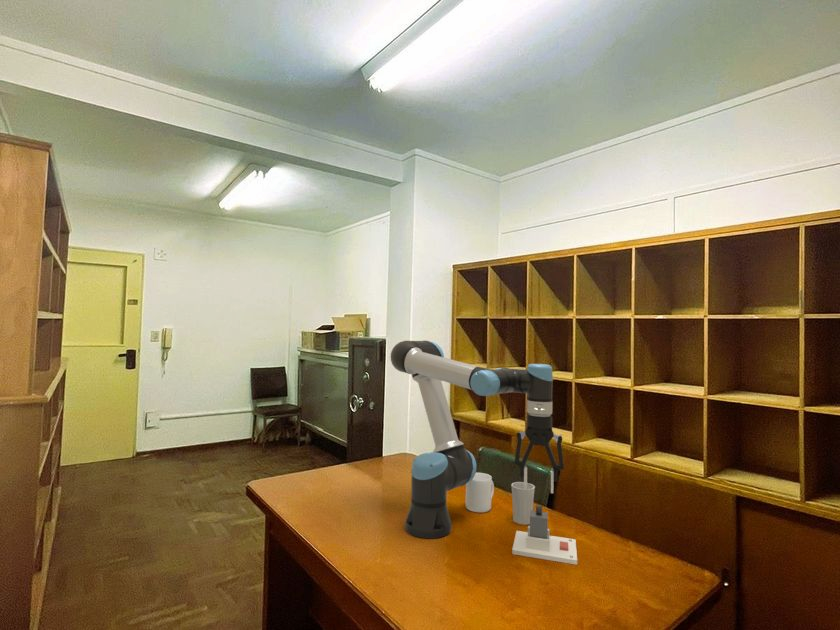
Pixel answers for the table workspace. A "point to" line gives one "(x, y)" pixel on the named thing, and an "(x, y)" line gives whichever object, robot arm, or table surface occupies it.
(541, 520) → the plug
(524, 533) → the socket
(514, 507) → the cup
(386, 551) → the table surface
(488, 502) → the mug
